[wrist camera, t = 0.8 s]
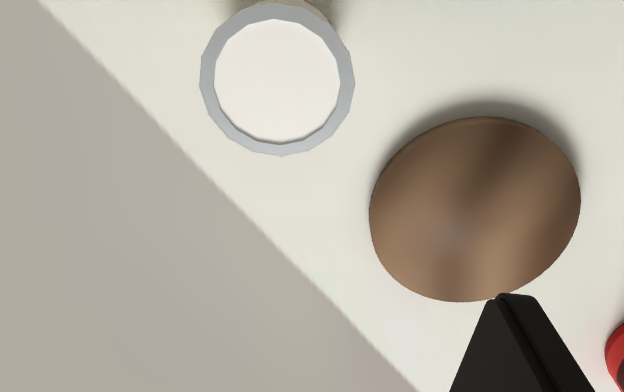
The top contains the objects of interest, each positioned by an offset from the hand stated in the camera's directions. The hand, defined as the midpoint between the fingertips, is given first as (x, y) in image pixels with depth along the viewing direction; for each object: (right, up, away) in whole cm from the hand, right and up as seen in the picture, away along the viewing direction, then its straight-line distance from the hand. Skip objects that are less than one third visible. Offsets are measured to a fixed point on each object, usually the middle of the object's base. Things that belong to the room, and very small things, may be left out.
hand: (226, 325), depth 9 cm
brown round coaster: (+12, +1, +24) cm, 27 cm away
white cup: (0, +11, +20) cm, 22 cm away
